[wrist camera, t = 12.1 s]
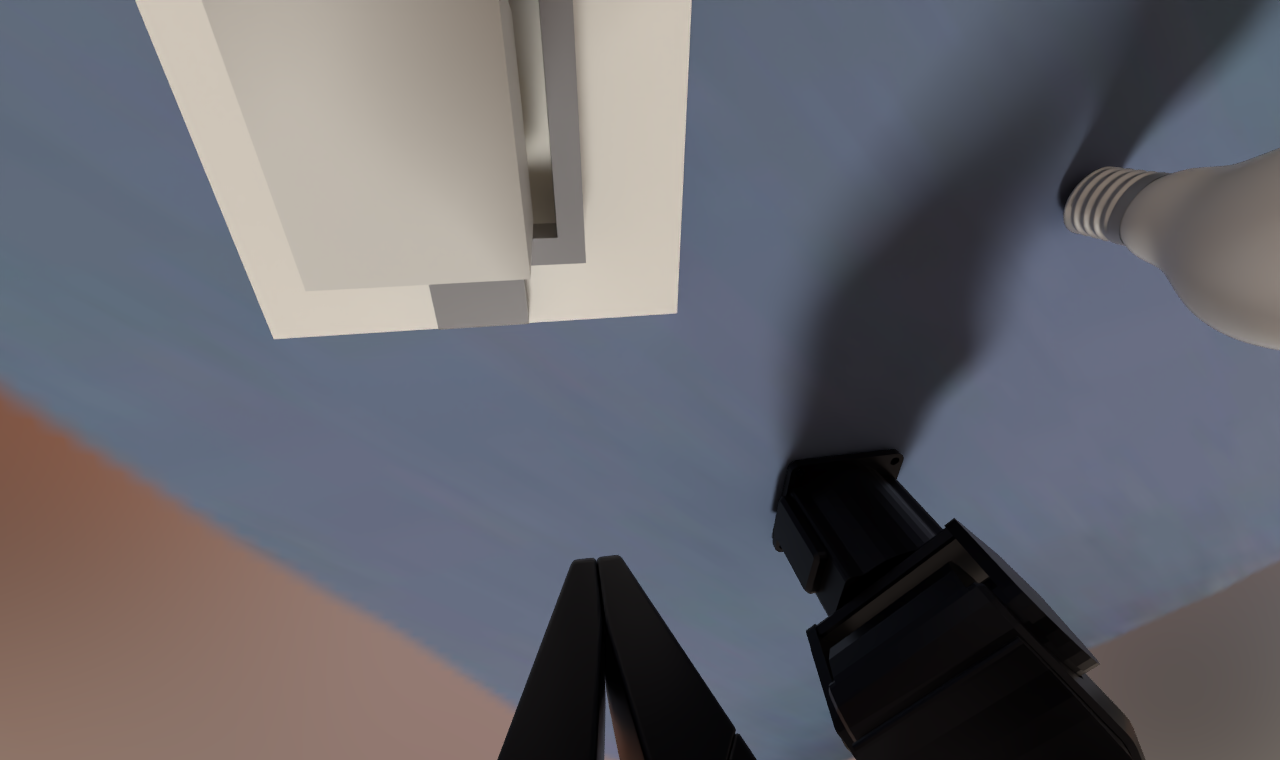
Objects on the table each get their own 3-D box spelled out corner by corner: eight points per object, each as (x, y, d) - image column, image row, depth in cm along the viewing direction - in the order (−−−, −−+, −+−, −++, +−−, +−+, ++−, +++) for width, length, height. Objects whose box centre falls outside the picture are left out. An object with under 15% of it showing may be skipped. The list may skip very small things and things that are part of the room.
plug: (515, 23, 13) (494, -43, 7) (534, 205, 16) (530, 279, 9) (359, 19, 13) (180, -58, 6) (403, 209, 15) (306, 291, 9)
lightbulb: (984, 266, 22) (1318, 393, 12) (1059, 104, 19) (1576, 111, 9) (1095, 274, 23) (1472, 394, 14) (1181, 124, 20) (1741, 148, 11)
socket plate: (684, -150, 13) (726, -219, 10) (668, 299, 20) (690, 335, 17) (94, -202, 11) (-67, -310, 8) (292, 321, 18) (243, 367, 15)
